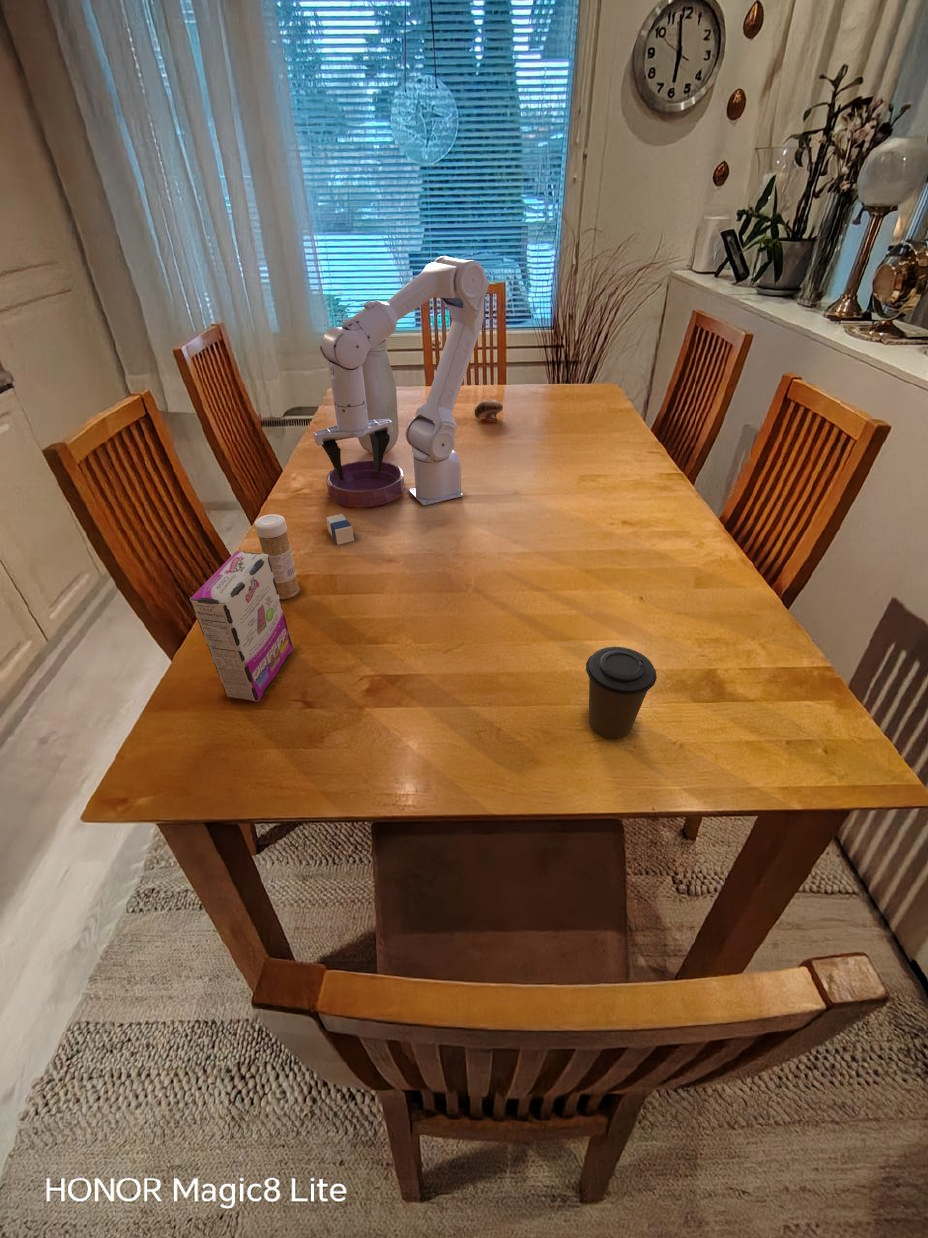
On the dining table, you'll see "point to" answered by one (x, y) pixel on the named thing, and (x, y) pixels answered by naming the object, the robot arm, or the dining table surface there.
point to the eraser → (340, 529)
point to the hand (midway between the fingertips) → (359, 473)
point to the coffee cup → (617, 689)
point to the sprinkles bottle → (278, 553)
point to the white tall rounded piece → (380, 393)
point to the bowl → (365, 484)
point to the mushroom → (488, 410)
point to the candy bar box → (243, 624)
